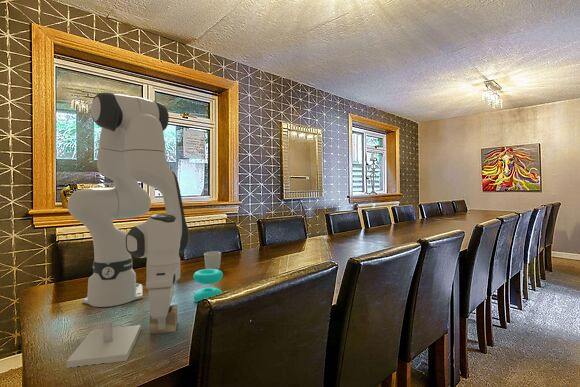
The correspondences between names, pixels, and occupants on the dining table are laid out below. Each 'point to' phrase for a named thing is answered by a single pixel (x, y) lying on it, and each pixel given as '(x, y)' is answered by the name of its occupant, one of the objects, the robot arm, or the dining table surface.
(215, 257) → the cup
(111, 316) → the dining table surface
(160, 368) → the dining table surface
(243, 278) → the dining table surface
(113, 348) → the post board
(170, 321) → the collar
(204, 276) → the donuts
